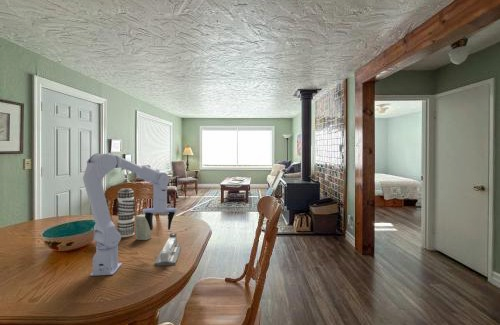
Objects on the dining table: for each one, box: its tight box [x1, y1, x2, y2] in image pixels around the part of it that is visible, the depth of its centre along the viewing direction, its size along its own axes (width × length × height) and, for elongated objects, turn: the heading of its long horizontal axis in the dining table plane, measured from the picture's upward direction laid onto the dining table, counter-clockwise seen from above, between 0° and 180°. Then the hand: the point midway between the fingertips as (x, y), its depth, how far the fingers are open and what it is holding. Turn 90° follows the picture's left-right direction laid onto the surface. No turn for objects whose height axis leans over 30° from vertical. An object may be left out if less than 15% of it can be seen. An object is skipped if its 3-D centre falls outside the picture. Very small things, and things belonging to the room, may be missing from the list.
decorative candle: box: [115, 187, 136, 238], centre depth 143 cm, size 9×9×25 cm
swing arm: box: [159, 236, 177, 262], centre depth 113 cm, size 20×3×3 cm, turn 8°
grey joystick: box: [169, 233, 180, 247], centre depth 125 cm, size 5×5×6 cm
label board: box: [153, 246, 182, 267], centre depth 114 cm, size 18×8×1 cm, turn 8°
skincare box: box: [135, 214, 152, 241], centre depth 137 cm, size 6×4×12 cm
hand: (160, 229), depth 118 cm, fingers open, 7 cm apart
